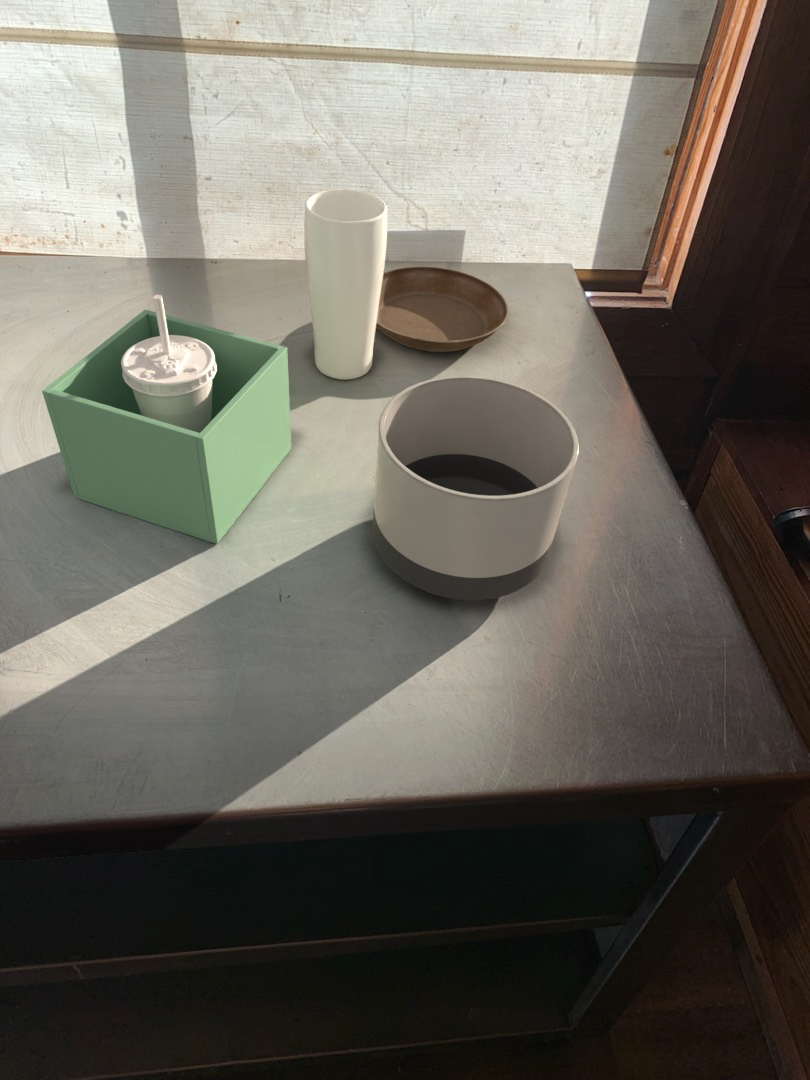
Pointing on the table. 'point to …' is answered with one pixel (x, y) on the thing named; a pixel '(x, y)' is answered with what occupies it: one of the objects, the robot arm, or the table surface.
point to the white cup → (344, 277)
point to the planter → (470, 485)
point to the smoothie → (171, 376)
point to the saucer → (438, 308)
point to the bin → (174, 432)
